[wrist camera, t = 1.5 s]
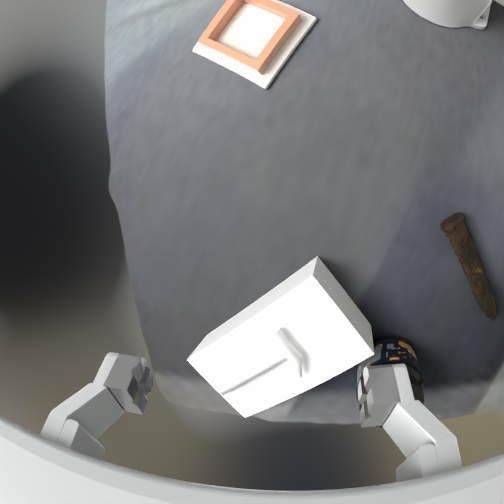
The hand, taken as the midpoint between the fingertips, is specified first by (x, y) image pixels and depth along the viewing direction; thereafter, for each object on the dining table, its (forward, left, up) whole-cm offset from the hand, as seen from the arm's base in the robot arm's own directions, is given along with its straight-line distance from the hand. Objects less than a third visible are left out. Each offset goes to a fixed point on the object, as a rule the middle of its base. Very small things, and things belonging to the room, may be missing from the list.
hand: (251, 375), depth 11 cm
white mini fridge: (+19, +7, -37) cm, 42 cm away
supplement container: (+12, +24, -37) cm, 46 cm away
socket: (-18, -24, -36) cm, 47 cm away
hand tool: (-9, +24, -37) cm, 45 cm away
